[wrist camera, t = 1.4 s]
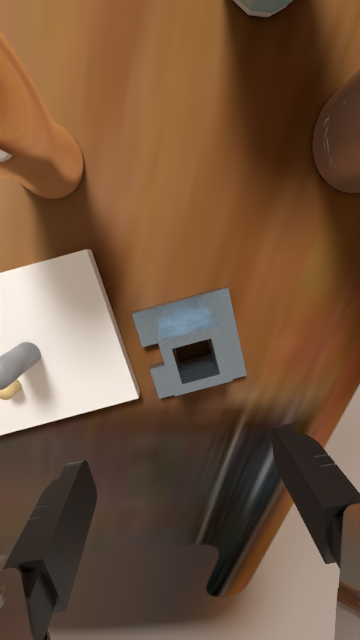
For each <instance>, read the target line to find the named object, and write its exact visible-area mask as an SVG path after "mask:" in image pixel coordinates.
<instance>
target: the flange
mask: <svg viewBox="0 0 360 640" xmlns="http://www.w3.org/2000/svg"><path fill="white" fill-rule="evenodd" d="M132 317H133V320H134V323H135V326H136V329H137V332H138V335H139V338H140V341H141V344H142V347H146V346H149V345H153V344H157V343H158V344H159V348H160V351H161V354H162V357H163V361H164V362H161V363H157V364H153V365H150V372H151V375H152V378H153V381H154V384H155V387H156V390H157V393H158V396H159V399H160V398H164V397H168V396H172V395H174V396H178V395H182V394H186V393H189V392H193V391H197V390H201V389H204V388H208V387H212V386H216V385H219V384H223V383H227V382H231V381H233V379H235V378H239V377H243V376H246V375H247V374H246V369H245V364H244V360H243V355H242V350H241V346H240V341H239V336H238V332H237V327H236V322H235V318H234V313H233V308H232V304H231V299H230V294H229V290H228V288H227V287H222V288H219V289H215V290H211V291H208V292H204V293H200V294H197V295H193V296H189V297H186V298H182V299H178V300H175V301H171V302H167V303H164V304H160V305H156V306H153V307H149V308H145V309H142V310H138V311H134V312H133V313H132ZM203 340H207V341H208V345H209V349H210V354H207V355H203V356H199V357H196V358H192V359H188V360H184V361H181V362H179V359H178V356H177V352H176V349H175V348H177V347H181V346H185V345H188V344H192V343H196V342H200V341H203Z"/></svg>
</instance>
